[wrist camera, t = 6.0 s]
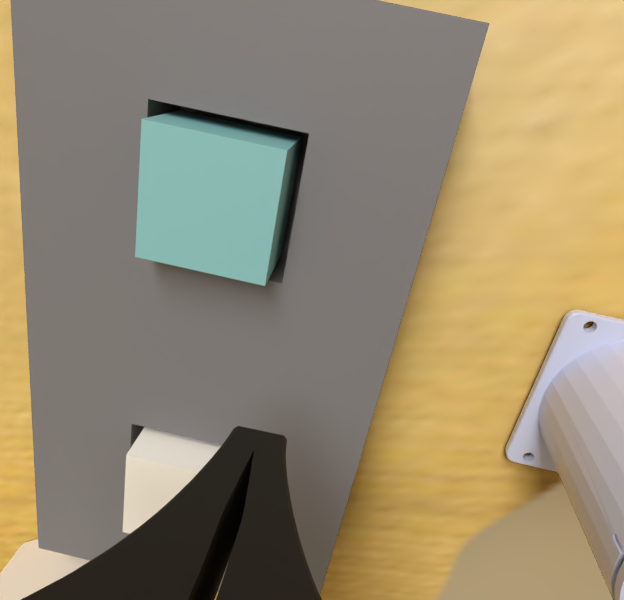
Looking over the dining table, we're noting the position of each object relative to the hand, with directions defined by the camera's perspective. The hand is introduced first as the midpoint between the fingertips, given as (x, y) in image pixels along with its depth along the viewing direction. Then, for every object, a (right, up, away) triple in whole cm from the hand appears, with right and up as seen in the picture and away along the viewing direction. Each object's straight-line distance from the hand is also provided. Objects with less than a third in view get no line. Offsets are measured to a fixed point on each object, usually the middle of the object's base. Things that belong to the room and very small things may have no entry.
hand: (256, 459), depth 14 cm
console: (-2, +4, +10) cm, 11 cm away
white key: (-4, -3, +11) cm, 12 cm away
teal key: (-1, +8, +5) cm, 10 cm away
